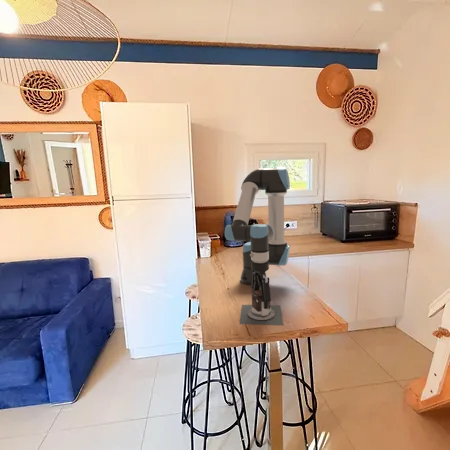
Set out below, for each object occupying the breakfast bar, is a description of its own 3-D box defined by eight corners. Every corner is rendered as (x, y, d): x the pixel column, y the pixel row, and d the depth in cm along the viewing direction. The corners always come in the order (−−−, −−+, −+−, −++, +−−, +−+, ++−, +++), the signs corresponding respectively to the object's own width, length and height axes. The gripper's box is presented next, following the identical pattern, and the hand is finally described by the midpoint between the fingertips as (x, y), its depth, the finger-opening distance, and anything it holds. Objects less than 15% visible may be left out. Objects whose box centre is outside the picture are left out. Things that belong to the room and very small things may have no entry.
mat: (241, 305, 132) (241, 304, 132) (280, 306, 130) (280, 305, 130) (239, 325, 114) (239, 324, 114) (283, 326, 112) (283, 325, 112)
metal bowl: (247, 307, 128) (247, 301, 128) (274, 308, 127) (274, 301, 126) (246, 320, 117) (246, 314, 116) (275, 321, 115) (275, 314, 115)
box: (251, 306, 123) (251, 290, 122) (263, 303, 125) (263, 288, 124) (258, 312, 117) (257, 295, 116) (270, 309, 119) (270, 293, 118)
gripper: (243, 255, 127) (244, 301, 131) (261, 268, 107) (262, 323, 110) (258, 253, 129) (259, 299, 133) (279, 266, 109) (279, 320, 112)
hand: (260, 310), depth 121 cm, fingers open, 8 cm apart
